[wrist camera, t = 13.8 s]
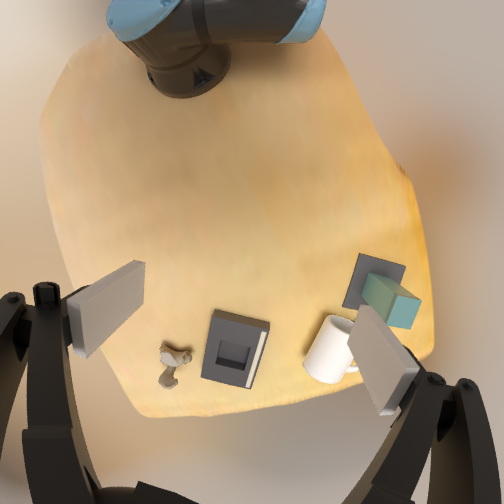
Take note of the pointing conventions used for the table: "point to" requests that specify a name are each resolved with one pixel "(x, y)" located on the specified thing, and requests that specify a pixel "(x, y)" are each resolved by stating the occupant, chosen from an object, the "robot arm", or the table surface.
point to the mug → (331, 351)
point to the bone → (172, 365)
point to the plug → (390, 301)
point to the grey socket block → (234, 349)
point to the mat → (361, 274)
